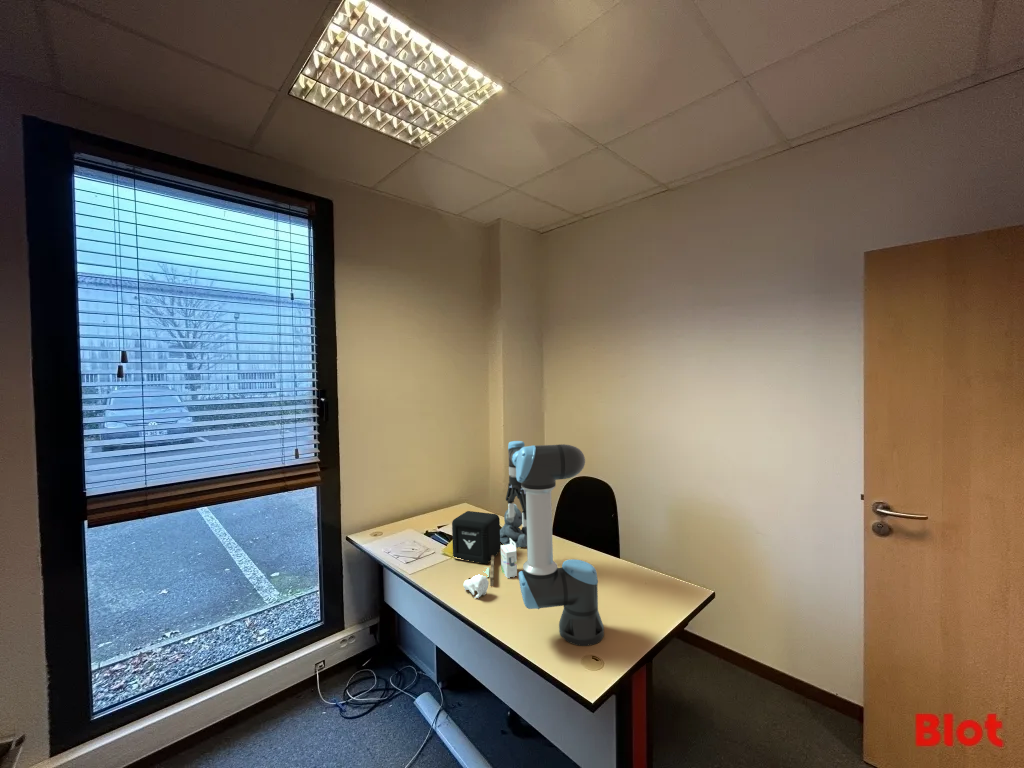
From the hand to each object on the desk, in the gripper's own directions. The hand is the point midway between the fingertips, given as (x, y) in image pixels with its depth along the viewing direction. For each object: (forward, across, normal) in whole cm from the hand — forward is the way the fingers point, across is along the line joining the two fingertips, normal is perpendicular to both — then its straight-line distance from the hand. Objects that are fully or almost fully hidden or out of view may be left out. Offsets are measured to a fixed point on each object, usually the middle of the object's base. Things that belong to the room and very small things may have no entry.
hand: (518, 521), depth 185 cm
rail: (+22, +3, +12) cm, 26 cm away
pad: (+22, +6, +17) cm, 29 cm away
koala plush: (+23, +31, -13) cm, 40 cm away
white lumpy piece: (+23, -9, +26) cm, 35 cm away
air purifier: (+23, +24, +12) cm, 35 cm away
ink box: (+23, -1, +6) cm, 23 cm away
